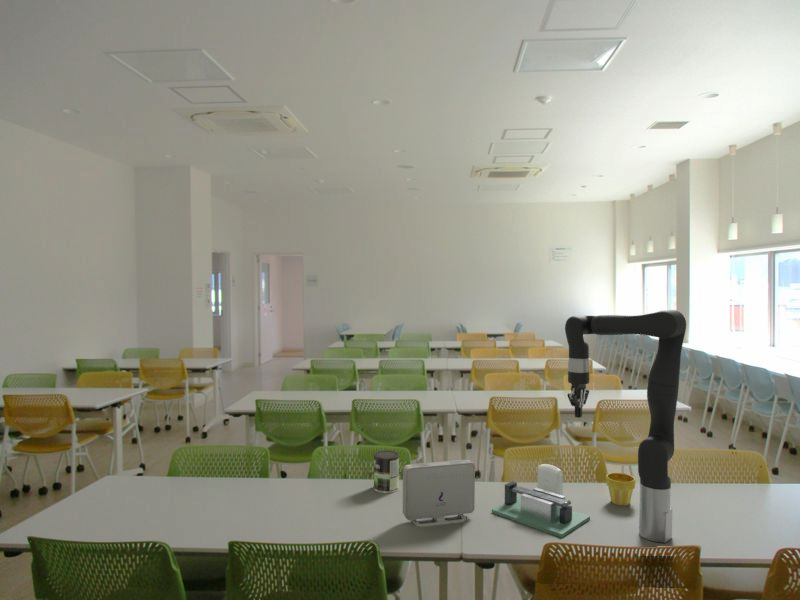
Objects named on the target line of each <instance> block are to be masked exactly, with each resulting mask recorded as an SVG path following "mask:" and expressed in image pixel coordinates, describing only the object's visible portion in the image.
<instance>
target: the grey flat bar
mask: <svg viewBox="0 0 800 600" xmlns="http://www.w3.org/2000/svg"><path fill="white" fill-rule="evenodd" d="M512 491H513V492H516V493H517V494H520V495H522V494H527V495H530V496H533V497H536V498H539V499H543V500H546V501H549V502H552V503H554V505H557V506H561V507H562V508H565V507H567V506H568V505H569V506H571V504H572V501H571V500H567V499H565V500H563V499H560V498H557V497H553V496H550V495H547V494H543V493H540V492H537V491H533V489H530V488H527V487H523V486H520V485H517V487H515V488H513V489H512Z"/></svg>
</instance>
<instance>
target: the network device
mask: <svg viewBox="0 0 800 600" xmlns="http://www.w3.org/2000/svg"><path fill="white" fill-rule="evenodd" d="M475 471H476V465H475V464H474V462H472V461H471V460H469V459H457V460H447V461H444V460H443V461H436V462H425V463H423V462H422V463H412V464H405V465H404V466H403V467H402V514H403V516H404V518H406V520H408V521H412V523H413V524H414V525H415V526H417V527H420V528H424V527H434V526H435V527H436V526H441V525H442V526H443V525H448V524H449V525H450V524H459V523H463V522H465V521H466V520H467V519H466V516H465V515H467V514H472V513H474V511H475V506H476V505H475V501H476V500H475V499H476V497H475V494H476V493H475V492H476V491H475V490H476V489H475V487H476V486H475V485H476V484H475V483H476V481H475V479H476V477H475V476H476V472H475ZM456 515H457V516H459V517H460V518H461V519H453V520H452V519H451V520H447V519H445V517H448V516H456ZM432 518H433V519H434V521H435V522H434V521H433V522H428V523H419V522H418V520H422V519H423V520H425V519H432Z"/></svg>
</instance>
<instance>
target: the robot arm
mask: <svg viewBox="0 0 800 600" xmlns="http://www.w3.org/2000/svg"><path fill="white" fill-rule="evenodd" d="M686 329H687V321H686V318H685V316H684V314H683V313H682V312H680V311H679V310H677V309H663V310H662V309H661V310H659V311H656V312H651V313H646V314H640V315H639V314H638V315H622V314H621V315H619V314H603V315H602V314H600V315H572V316H570V317H568V319H566V322H565V324H564V331H565V336H566V342H567V345H568V359H567V361H568V362H567V382H568V384H571V385H570V386H571V387H570V393H567V399H568V400H569V403H570V405H571V406H572V407H574V418H578V419H579V418H582V417H583V407H584V405H586V403H587V400H588V398H589V395H590V389H587V385H588V384H589V383H590V353H589V352H590V350H589V349H590V347H589V346H590V345H589V344H588V343H587V342H585V339H584V335H598V336H620V335H638V336H639V335H640V336H641V335H643V336H648V337H654V338H658V346H657V352H656V355H655V358H654V361H653V363H652V364H651V368H650V371H649V374H648V378H647V379H648V380H647V387H646V389H647V390H646V398H647V399H646V400H647V404H648V409H649V413H650V426H649V431H648V435H647V438H645V439H643V440H642V441H641V442H640V443H639V446H638V450H637V471H638V472H637V474H638V476H639V514H638V515H639V519H638V520H639V521H638V523H639V524H638V529H639V530H638V533H639V535H640V536H641V538H643V539H644V540H647V541H651V542H656V543H658V542H659V543H663V544H666V543H667V542H668V541H670V540H671V538H672V537H673V509H672V508H671V496H672V495H671V490H672V486H671V485H672V479H671V478H670V476H669V474H668V473H669V471H668V470H669V468H668V463H669V461H670V460H671V459H672V458H673V456H674V453H675V430H674V429H675V417H676V412H677V404H678V396H679V387H680V386H679V385H680V372H681V359H682V357H681V356H682V350H683V344H684V339H685V336H686Z"/></svg>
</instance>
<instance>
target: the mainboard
mask: <svg viewBox="0 0 800 600" xmlns="http://www.w3.org/2000/svg"><path fill="white" fill-rule="evenodd" d="M521 495H522V494H520V495H517V502H515V503H513V504H511V505H506V504H505V502H504V503H501V504H500V505H498V506H495V507H494V508H492V509H491V514H494V515H497V516H500V517H503V518H506V519H508V520H511V521H513V522H517V523H519V524H522V525H525V526H528V527H530V528H534V529H537V530H539V531H542V532H545V533H547V534H551V535H553V536H555V537H559V538H564V537H565V536H567V535H569V534H570V533H571V532H573V531H575V530H576V529H578V528H579V527H581V526H582V525H584V524H585V523H587V522H588V521H590V520H591V516H590V515H588V514H585V513H582V512H581V513H580V512H578V511H575V510H572V520H571V521H570V522H568V523H566V524H562V523H560V518H558V519H557V520H555V521H553V522H551V523H549V522H546V521H543V520H540V519H537V518H535V517H532V516H529V515H526V514H523V513H521Z"/></svg>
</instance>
